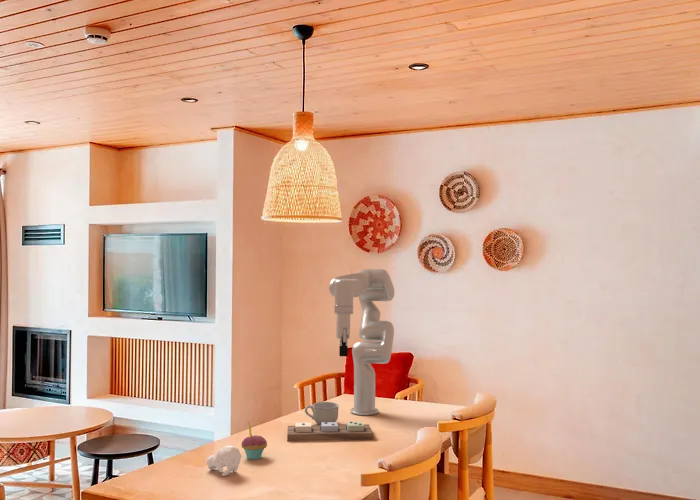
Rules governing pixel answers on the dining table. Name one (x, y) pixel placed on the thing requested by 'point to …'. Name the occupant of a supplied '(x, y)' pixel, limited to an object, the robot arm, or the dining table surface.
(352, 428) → the pale green block
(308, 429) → the cream square block
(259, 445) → the cupcake
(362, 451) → the dining table surface
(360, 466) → the dining table surface
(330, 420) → the teacup
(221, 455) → the white animal figurine
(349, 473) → the dining table surface
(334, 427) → the white die
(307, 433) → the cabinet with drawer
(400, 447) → the dining table surface
